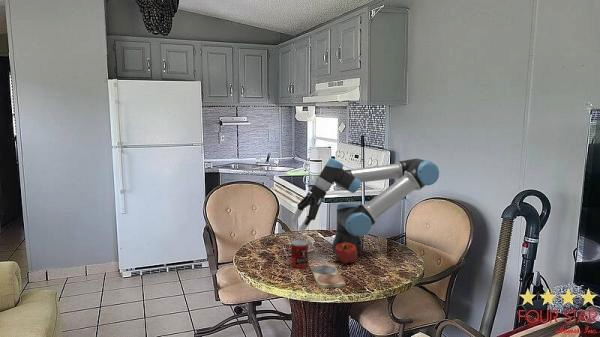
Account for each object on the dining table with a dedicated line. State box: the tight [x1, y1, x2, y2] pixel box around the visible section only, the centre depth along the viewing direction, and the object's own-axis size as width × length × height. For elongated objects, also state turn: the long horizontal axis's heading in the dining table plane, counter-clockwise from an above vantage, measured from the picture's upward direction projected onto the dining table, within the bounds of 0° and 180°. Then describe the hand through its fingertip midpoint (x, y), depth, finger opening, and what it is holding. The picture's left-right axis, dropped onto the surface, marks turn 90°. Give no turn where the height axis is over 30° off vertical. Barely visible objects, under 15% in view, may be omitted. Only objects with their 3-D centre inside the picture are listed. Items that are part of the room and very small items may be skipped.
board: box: [309, 264, 347, 289], centre depth 180 cm, size 11×22×2 cm, turn 8°
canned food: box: [290, 239, 309, 269], centre depth 194 cm, size 8×8×11 cm
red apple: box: [334, 242, 358, 265], centre depth 198 cm, size 11×10×10 cm
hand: (297, 225), depth 204 cm, fingers open, 13 cm apart
